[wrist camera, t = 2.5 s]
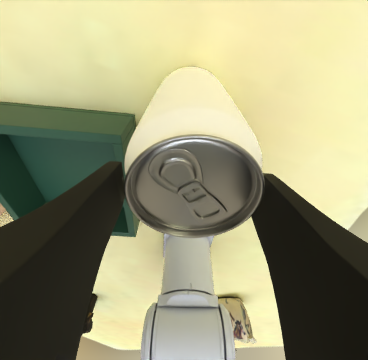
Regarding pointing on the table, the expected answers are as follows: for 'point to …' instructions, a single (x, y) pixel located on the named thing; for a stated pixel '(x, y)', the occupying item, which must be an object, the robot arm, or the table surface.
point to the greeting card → (1, 209)
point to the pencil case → (238, 319)
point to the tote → (58, 154)
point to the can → (193, 159)
